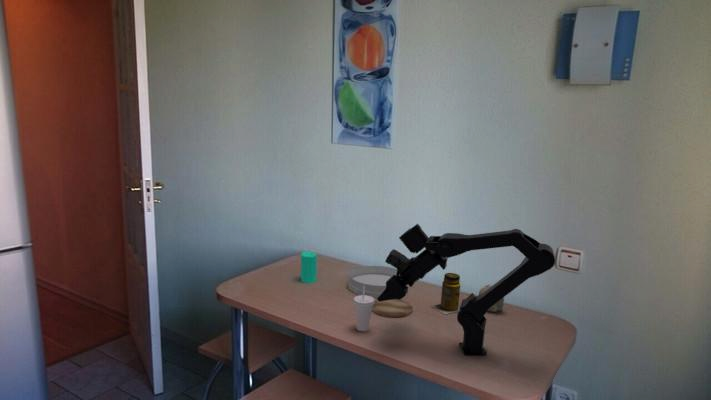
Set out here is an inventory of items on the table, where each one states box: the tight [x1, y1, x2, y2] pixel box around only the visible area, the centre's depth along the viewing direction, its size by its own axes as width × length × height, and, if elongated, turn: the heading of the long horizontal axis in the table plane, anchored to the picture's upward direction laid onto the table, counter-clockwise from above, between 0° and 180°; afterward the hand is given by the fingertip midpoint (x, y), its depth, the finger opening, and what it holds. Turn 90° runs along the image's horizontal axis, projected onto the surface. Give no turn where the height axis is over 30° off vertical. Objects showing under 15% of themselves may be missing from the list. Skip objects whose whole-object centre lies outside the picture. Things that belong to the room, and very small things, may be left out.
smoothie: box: [353, 286, 375, 332], centre depth 152 cm, size 6×6×14 cm
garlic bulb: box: [478, 283, 505, 312], centre depth 171 cm, size 9×8×10 cm
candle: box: [300, 250, 318, 284], centre depth 191 cm, size 6×6×12 cm
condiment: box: [430, 272, 461, 315], centre depth 170 cm, size 7×8×12 cm
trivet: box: [372, 299, 413, 319], centre depth 168 cm, size 14×14×1 cm
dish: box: [347, 265, 408, 299], centre depth 188 cm, size 22×22×5 cm
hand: (382, 294), depth 149 cm, fingers open, 9 cm apart
